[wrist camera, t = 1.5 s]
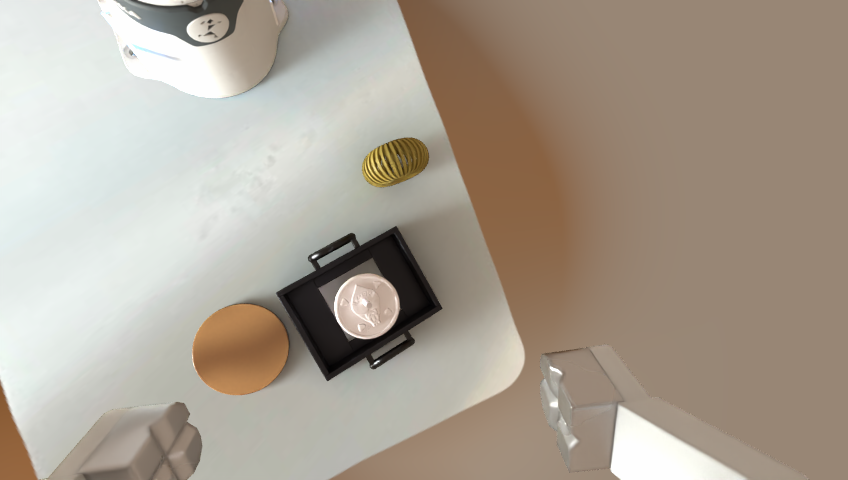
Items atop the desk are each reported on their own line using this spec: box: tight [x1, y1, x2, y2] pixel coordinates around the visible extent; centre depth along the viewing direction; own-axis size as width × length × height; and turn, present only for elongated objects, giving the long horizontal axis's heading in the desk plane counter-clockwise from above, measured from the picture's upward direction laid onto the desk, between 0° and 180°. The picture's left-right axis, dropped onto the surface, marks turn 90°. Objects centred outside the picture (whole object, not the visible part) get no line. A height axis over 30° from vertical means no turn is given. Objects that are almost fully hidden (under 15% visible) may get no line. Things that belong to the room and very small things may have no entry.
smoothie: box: [334, 273, 400, 339], centre depth 41 cm, size 6×6×14 cm
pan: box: [276, 226, 443, 381], centre depth 46 cm, size 15×15×3 cm
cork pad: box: [192, 303, 289, 395], centre depth 44 cm, size 10×10×1 cm
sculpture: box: [362, 138, 429, 187], centre depth 46 cm, size 8×4×8 cm, turn 112°
